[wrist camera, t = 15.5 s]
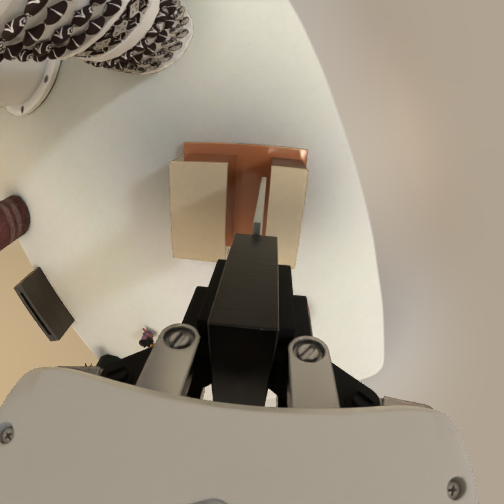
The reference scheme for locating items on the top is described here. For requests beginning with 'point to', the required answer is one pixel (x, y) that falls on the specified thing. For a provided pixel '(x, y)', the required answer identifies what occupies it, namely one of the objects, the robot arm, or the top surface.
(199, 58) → the top surface
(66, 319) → the knife block
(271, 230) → the slice
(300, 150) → the slotted block stand
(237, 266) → the knife
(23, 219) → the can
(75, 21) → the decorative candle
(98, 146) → the top surface
